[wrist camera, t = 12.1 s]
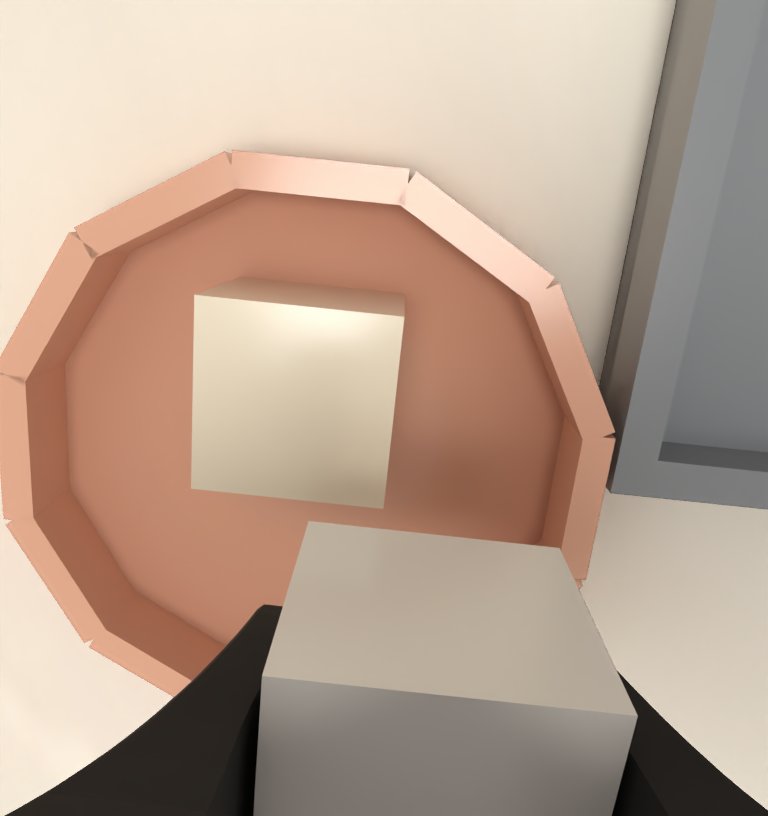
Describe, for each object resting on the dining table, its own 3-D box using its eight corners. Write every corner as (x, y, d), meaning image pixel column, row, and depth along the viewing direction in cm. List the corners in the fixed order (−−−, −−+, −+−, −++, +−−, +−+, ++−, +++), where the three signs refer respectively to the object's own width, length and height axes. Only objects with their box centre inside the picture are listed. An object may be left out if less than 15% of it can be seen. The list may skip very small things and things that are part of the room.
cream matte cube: (404, 293, 18) (404, 316, 14) (388, 448, 19) (383, 509, 15) (240, 276, 18) (194, 294, 14) (234, 432, 19) (190, 488, 15)
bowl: (629, 197, 17) (667, 195, 15) (532, 692, 22) (548, 754, 19) (36, 136, 17) (-26, 123, 15) (61, 643, 22) (16, 698, 19)
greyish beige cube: (559, 547, 12) (637, 715, 8) (518, 750, 13) (567, 981, 9) (308, 521, 12) (261, 675, 8) (292, 727, 13) (244, 948, 9)
